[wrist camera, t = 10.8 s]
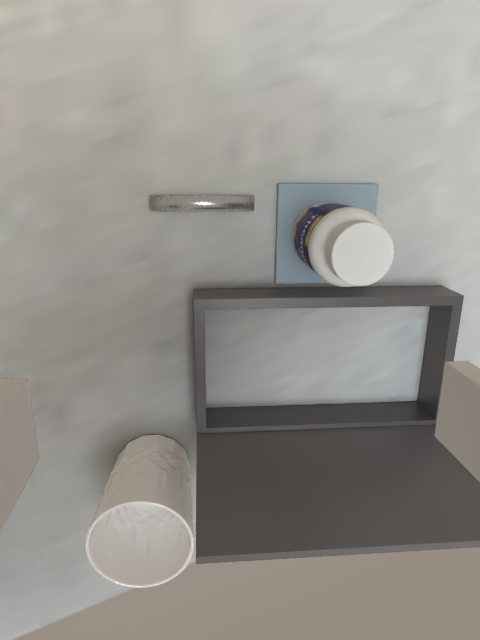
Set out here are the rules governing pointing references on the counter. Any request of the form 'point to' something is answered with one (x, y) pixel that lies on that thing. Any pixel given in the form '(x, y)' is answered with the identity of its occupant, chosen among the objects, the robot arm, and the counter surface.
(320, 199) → the mat
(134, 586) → the white cup
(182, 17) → the counter surface
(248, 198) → the rod
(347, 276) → the pill bottle
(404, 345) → the counter surface
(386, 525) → the case
